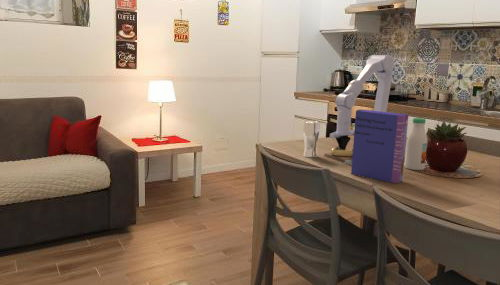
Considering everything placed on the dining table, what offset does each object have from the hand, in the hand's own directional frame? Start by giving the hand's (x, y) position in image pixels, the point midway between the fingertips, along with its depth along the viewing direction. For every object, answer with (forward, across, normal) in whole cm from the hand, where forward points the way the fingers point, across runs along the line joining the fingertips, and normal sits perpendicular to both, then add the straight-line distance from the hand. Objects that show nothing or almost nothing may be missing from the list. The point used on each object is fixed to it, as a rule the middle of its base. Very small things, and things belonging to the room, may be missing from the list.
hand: (341, 153), depth 192 cm
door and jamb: (+2, +2, -8) cm, 9 cm away
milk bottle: (+2, +12, -28) cm, 30 cm away
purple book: (+2, -14, -29) cm, 32 cm away
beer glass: (+2, -10, +9) cm, 14 cm away
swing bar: (0, -1, -3) cm, 3 cm away
